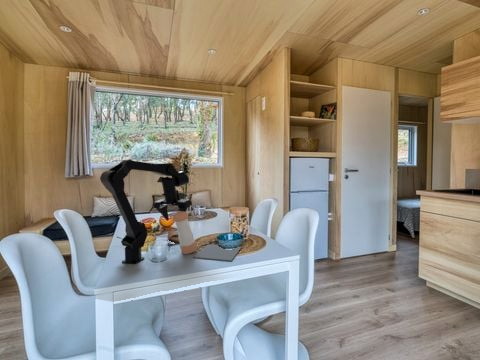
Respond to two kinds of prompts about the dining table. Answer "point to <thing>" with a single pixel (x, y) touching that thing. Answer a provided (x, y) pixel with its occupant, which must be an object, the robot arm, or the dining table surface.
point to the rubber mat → (217, 253)
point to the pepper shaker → (184, 233)
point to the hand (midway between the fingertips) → (175, 220)
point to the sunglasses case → (173, 236)
